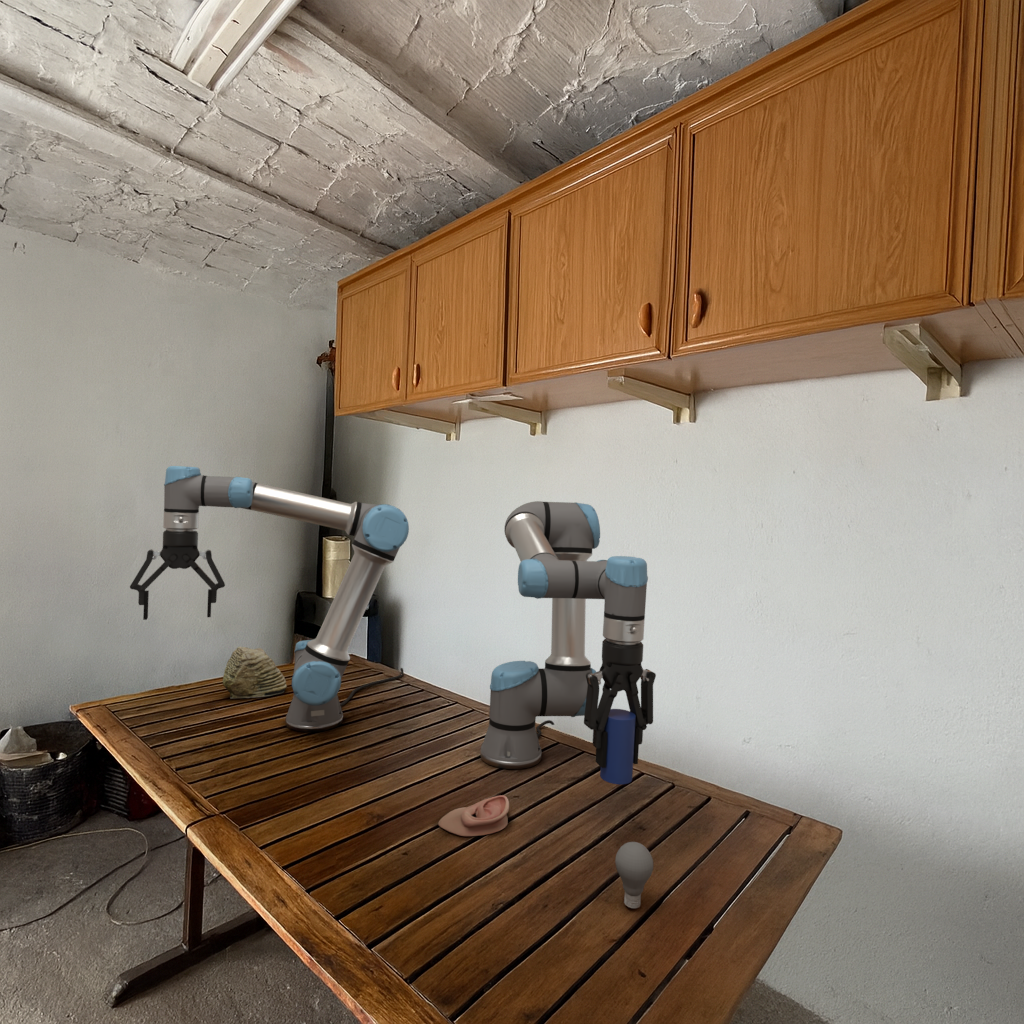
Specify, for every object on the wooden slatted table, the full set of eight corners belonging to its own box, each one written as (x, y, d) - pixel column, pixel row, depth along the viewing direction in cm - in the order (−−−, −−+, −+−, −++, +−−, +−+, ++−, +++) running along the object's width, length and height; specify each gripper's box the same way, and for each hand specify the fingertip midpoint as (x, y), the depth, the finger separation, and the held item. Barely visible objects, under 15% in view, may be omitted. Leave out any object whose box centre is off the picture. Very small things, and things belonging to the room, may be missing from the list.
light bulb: (609, 894, 104) (612, 834, 104) (645, 894, 105) (647, 834, 105) (618, 918, 98) (621, 854, 98) (656, 918, 99) (659, 854, 99)
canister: (596, 770, 121) (599, 708, 121) (626, 770, 122) (630, 708, 121) (604, 784, 115) (608, 719, 115) (636, 784, 116) (639, 720, 115)
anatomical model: (433, 811, 121) (451, 785, 132) (432, 831, 121) (450, 804, 133) (501, 821, 119) (513, 794, 130) (500, 842, 119) (512, 813, 130)
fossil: (218, 695, 195) (220, 647, 195) (278, 685, 208) (279, 640, 207) (228, 703, 189) (230, 653, 188) (289, 692, 201) (290, 645, 201)
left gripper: (118, 530, 144) (115, 622, 145) (237, 531, 155) (234, 618, 156) (122, 528, 151) (119, 616, 151) (236, 530, 162) (233, 612, 162)
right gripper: (585, 647, 111) (579, 777, 112) (678, 643, 117) (671, 766, 118) (568, 637, 118) (562, 759, 119) (656, 633, 124) (649, 750, 125)
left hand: (177, 617), depth 154 cm, fingers open, 13 cm apart
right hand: (616, 762), depth 118 cm, fingers closed on canister, 6 cm apart
